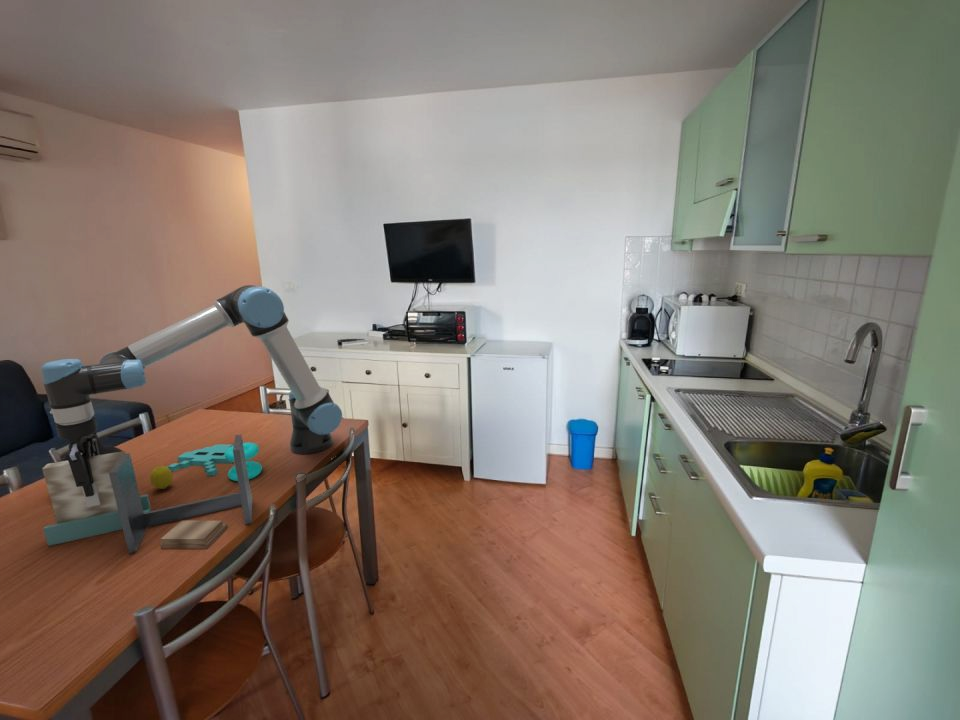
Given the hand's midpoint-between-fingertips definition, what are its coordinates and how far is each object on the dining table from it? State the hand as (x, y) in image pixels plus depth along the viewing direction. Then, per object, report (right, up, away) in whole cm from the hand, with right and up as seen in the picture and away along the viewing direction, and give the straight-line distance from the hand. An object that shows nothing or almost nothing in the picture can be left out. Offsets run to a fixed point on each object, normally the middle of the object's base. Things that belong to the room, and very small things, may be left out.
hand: (96, 501), depth 115 cm
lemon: (+3, -3, +20) cm, 21 cm away
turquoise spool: (+25, -1, +28) cm, 38 cm away
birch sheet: (0, -5, +1) cm, 6 cm away
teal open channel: (0, -7, +2) cm, 8 cm away
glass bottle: (-20, -3, +23) cm, 30 cm away
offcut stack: (+29, -9, -3) cm, 30 cm away
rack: (+26, -7, +1) cm, 27 cm away
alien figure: (+5, +1, +39) cm, 39 cm away
